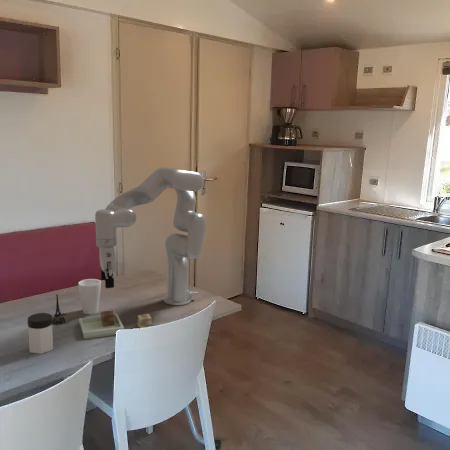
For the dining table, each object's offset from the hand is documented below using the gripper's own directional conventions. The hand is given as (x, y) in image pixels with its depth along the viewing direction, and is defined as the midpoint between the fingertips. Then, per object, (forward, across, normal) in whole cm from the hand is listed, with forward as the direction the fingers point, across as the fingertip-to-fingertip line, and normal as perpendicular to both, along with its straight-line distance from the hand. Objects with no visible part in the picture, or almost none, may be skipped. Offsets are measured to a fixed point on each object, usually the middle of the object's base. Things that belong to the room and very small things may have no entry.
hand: (107, 283), depth 189 cm
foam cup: (+18, +17, +5) cm, 25 cm away
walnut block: (+17, 0, 0) cm, 17 cm away
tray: (+18, -3, +3) cm, 18 cm away
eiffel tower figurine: (+18, +10, +19) cm, 28 cm away
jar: (+18, -12, +26) cm, 34 cm away
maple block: (+18, -6, -13) cm, 23 cm away
